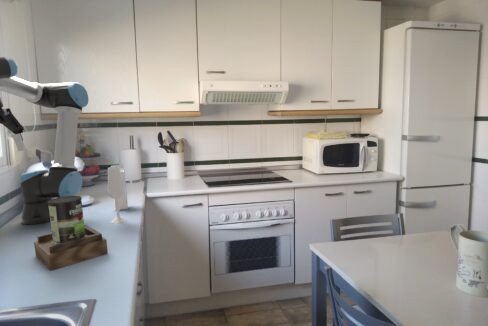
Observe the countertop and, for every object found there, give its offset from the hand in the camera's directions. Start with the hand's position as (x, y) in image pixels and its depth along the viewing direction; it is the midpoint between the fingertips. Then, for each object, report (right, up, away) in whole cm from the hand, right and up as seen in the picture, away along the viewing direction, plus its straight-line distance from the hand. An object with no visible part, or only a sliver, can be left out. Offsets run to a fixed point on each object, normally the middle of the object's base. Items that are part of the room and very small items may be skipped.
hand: (9, 155), depth 136 cm
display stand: (+27, -34, -9) cm, 45 cm away
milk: (+24, -26, +51) cm, 62 cm away
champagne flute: (+31, -29, +28) cm, 51 cm away
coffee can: (+27, -29, -10) cm, 41 cm away
